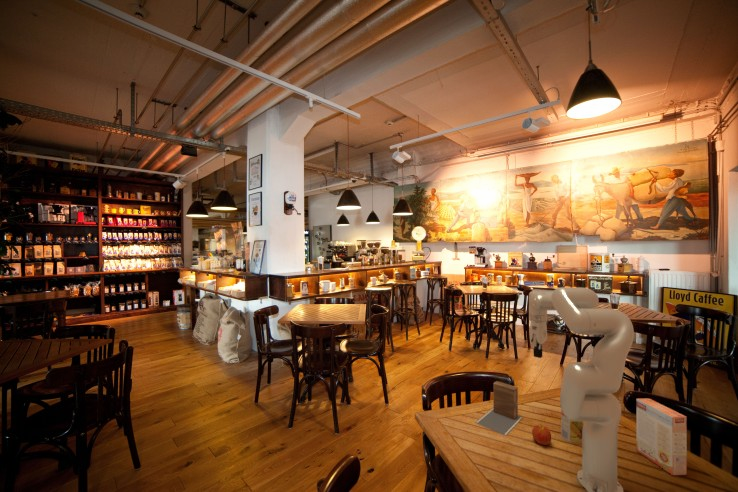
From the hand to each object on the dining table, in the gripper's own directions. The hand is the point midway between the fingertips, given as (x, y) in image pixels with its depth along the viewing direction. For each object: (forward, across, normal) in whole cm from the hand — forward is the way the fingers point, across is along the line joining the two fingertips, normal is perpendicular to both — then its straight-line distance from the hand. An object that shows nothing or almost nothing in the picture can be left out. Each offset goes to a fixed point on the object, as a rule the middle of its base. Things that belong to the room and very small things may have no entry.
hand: (538, 356), depth 146 cm
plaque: (+29, -8, +12) cm, 32 cm away
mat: (+29, -15, +12) cm, 35 cm away
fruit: (+29, -19, -7) cm, 36 cm away
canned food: (+29, -6, -15) cm, 33 cm away
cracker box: (+29, 0, -42) cm, 51 cm away
